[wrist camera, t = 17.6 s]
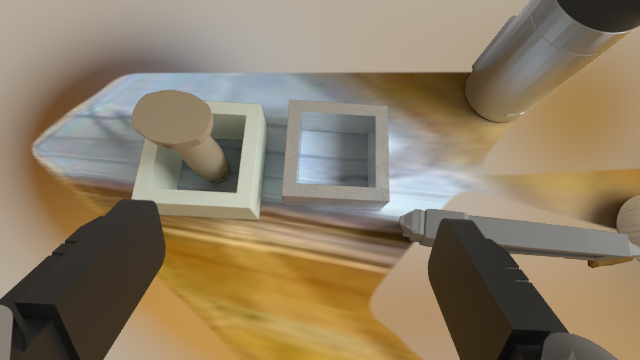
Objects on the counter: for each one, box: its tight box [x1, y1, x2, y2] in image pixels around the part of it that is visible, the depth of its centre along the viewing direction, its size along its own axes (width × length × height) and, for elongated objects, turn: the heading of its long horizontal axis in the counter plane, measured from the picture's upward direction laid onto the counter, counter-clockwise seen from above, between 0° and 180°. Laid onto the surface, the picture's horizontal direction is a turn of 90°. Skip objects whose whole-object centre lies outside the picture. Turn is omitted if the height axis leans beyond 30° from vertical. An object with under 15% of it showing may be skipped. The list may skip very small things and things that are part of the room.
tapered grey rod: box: [399, 209, 640, 268], centre depth 38 cm, size 3×25×15 cm, turn 81°
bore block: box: [282, 100, 389, 210], centre depth 40 cm, size 12×12×5 cm
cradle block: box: [132, 101, 268, 220], centre depth 38 cm, size 12×12×7 cm
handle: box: [132, 90, 230, 184], centre depth 34 cm, size 5×6×15 cm
